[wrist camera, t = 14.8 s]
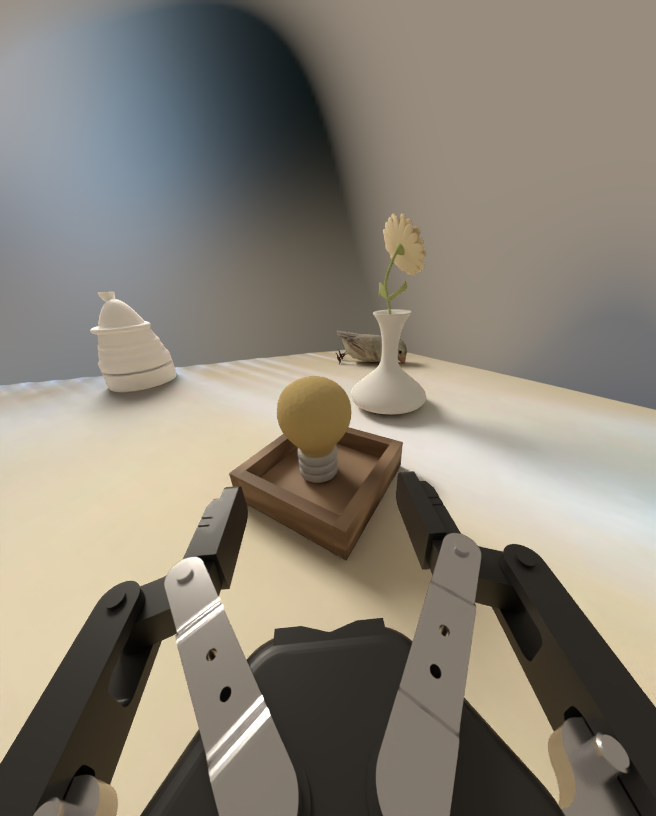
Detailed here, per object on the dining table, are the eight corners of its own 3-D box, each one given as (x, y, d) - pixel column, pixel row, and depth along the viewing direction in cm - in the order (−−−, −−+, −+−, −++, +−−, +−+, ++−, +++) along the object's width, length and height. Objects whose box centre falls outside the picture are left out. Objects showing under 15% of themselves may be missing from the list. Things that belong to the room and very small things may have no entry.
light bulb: (328, 447, 30) (323, 362, 25) (365, 478, 25) (367, 380, 20) (276, 469, 27) (260, 377, 22) (306, 509, 22) (294, 402, 17)
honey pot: (99, 385, 56) (55, 295, 48) (160, 368, 65) (132, 290, 57) (124, 396, 49) (78, 294, 41) (188, 375, 59) (161, 288, 50)
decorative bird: (406, 367, 57) (409, 332, 53) (334, 366, 60) (333, 333, 57) (405, 360, 61) (408, 327, 58) (338, 359, 65) (337, 328, 61)
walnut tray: (346, 560, 19) (345, 532, 17) (236, 497, 25) (229, 473, 23) (400, 465, 28) (402, 442, 26) (309, 436, 34) (307, 416, 32)
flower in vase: (434, 422, 35) (471, 188, 24) (350, 422, 36) (347, 198, 25) (413, 386, 47) (431, 216, 35) (350, 387, 48) (348, 223, 36)
